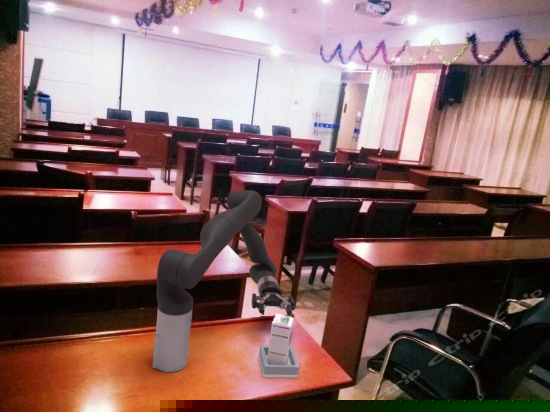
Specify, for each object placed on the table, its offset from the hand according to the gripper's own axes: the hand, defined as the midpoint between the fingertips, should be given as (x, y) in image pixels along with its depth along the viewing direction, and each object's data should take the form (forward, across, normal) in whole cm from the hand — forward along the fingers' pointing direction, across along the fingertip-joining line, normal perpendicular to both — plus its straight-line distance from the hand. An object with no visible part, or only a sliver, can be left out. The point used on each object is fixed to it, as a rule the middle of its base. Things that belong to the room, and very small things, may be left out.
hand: (276, 313), depth 127 cm
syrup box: (+11, 0, +10) cm, 15 cm away
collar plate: (+11, 0, +11) cm, 16 cm away
